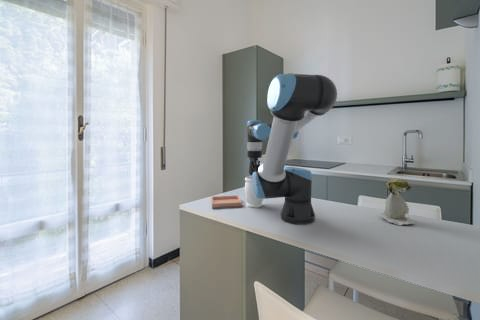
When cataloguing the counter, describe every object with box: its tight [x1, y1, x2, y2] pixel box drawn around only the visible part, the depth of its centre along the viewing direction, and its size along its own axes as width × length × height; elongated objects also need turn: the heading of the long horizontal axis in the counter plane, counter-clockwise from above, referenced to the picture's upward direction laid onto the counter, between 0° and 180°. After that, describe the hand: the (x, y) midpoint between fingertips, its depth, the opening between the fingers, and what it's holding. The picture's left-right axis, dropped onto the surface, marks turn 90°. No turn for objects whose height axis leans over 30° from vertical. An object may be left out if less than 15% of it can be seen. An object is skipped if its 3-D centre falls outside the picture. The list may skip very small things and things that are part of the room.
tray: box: [210, 194, 243, 210], centre depth 137 cm, size 15×16×2 cm
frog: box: [380, 178, 416, 227], centre depth 108 cm, size 12×13×18 cm
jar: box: [244, 176, 264, 208], centre depth 132 cm, size 11×10×15 cm
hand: (254, 189), depth 132 cm, fingers open, 13 cm apart
